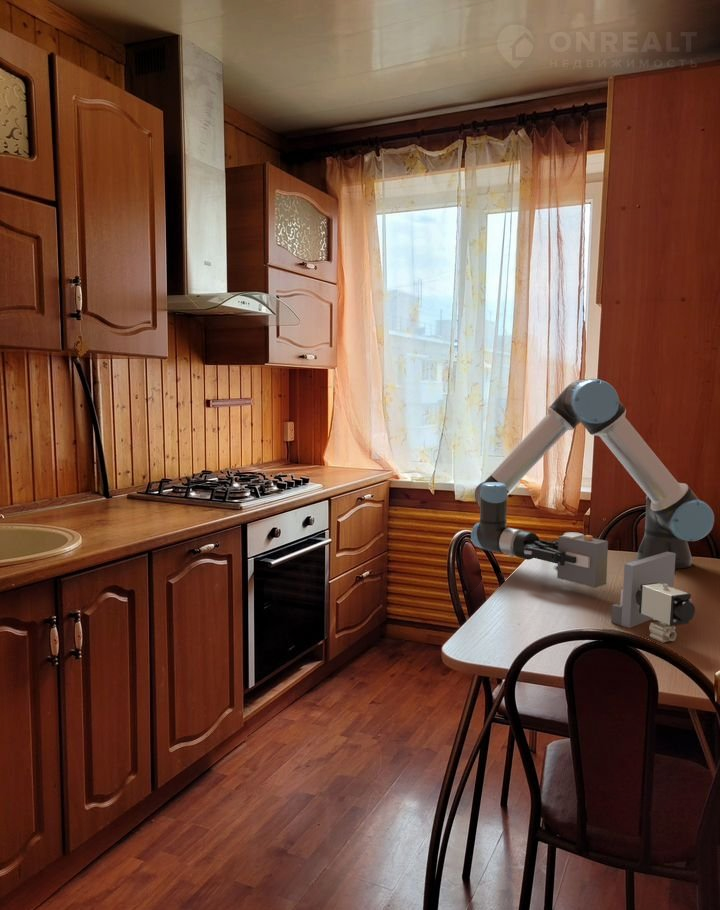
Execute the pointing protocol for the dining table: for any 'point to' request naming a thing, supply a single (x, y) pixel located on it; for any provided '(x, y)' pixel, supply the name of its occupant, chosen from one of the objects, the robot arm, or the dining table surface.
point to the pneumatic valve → (664, 609)
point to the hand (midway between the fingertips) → (595, 560)
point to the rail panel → (634, 576)
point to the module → (585, 547)
